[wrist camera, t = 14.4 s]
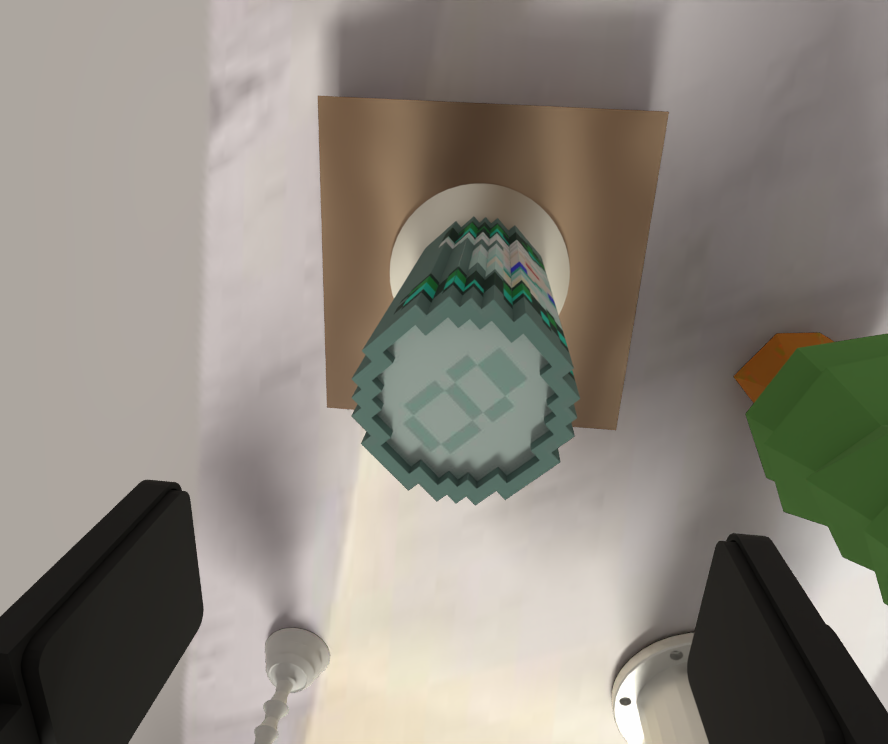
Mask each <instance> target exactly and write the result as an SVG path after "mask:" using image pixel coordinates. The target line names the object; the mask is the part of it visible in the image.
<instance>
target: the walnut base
mask: <svg viewBox="0 0 888 744" xmlns="http://www.w3.org/2000/svg"><path fill="white" fill-rule="evenodd" d="M668 114H669V112H663V111H641V110H619V109H597V108H575V107H553V106H531V105H509V104H487V103H465V102H443V101H421V100H399V99H377V98H355V97H333V96H318V119H319V152H320V186H321V220H322V253H323V287H324V321H325V355H326V388H327V408H340V409H353V410H355V408H356V406H357V403H356V402H355V401H354V400H353V399H352V396H353V394H354V392H355V390H356V388H357V387H358V385H357V384H356V383H355V382H354V381H353V380H352V377H353V375H354V374H355V372H356V370H357V369H358V367H359V365H360V364H361V362H362V360H363V358H364V357H365V354H364V353H363V352H362V350H363V348H364V346H365V345H366V343H367V342H368V340H369V338H370V337H371V335H372V333H373V332H374V330H375V329H376V327H377V325H378V324H379V322H380V321H381V319H382V317H383V316H384V314H385V312H386V311H387V309H388V308H389V306H390V304H391V303H392V301H393V300H394V298H395V296H396V295H397V293H398V291H399V290H400V288H401V287H402V285H403V283H404V282H405V280H406V278H407V277H408V275H409V274H410V272H411V270H412V269H413V267H414V266H415V264H416V262H417V261H418V259H419V257H420V256H421V254H422V253H423V251H424V249H425V248H426V247H427V246H428V245H429V244H430V243H432V242H433V241H434V240H435V239H436V238H437V237H438V236H439V235H441V234H442V233H443V232H444V231H445V230H446V229H447V228H448V227H450V226H451V225H452V224H453V223H454V222H455V221H456V222H457V223H458V224H459V225H460V226H461V227H462V226H463V225H464V224H466V223H467V222H468V221H469V220H470V219H471V218H472V217H473V216H474V217H475V218H476V219H477V220H478V221H479V222H481V221H482V220H483V219H484V218H485V217H486V218H487V219H488V220H489V221H490V222H491V223H492V222H493V221H495V220H496V219H497V218H498V219H499V220H500V221H501V222H502V223H503V225H504V226H505V227H506V228H507V229H508V231H509V230H510V229H511V228H512V227H513V226H514V225H515V226H516V227H517V228H518V229H519V230H520V232H521V233H522V234H523V235H524V236H525V238H526V239H527V240H528V241H529V242H530V244H531V245H532V246H533V247H534V248H535V250H536V251H537V252H538V253H539V254H540V256H541V257H542V261H543V264H544V267H545V271H546V274H547V278H548V281H549V285H550V288H551V291H552V295H553V298H554V302H555V305H556V309H557V312H558V315H559V319H560V322H561V326H562V329H563V333H564V336H565V339H566V343H567V346H568V350H569V353H570V357H571V360H572V363H573V367H574V369H573V370H572V371H573V375H574V378H575V382H576V385H577V389H578V392H579V396H580V400H578V401H577V402H575V403H574V406H575V410H576V414H577V419H575V420H574V421H572V422H571V423H572V427H582V428H595V429H608V430H616V427H617V421H618V415H619V409H620V403H621V397H622V391H623V385H624V379H625V373H626V367H627V361H628V355H629V349H630V343H631V337H632V331H633V325H634V319H635V313H636V307H637V301H638V295H639V289H640V283H641V277H642V271H643V265H644V259H645V253H646V247H647V241H648V235H649V229H650V223H651V217H652V211H653V205H654V199H655V193H656V187H657V181H658V175H659V169H660V163H661V156H662V150H663V144H664V138H665V132H666V126H667V120H668Z"/></svg>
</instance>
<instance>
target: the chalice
mask: <svg viewBox="0 0 888 744" xmlns="http://www.w3.org/2000/svg"><path fill="white" fill-rule="evenodd" d="M265 653H266V659H265V662H266V673H267V676H268V678H269V680H270V682H271V683H272V684H273V685H274V686H275V687H276V692H275V694H274V696H273V697H272V699H271V700H268V701H267V702H265V703H264V705H263V709H264V711H265V713H266V714H265V720H264V721H263V722H262V724H261V725H259V726H258V727H256V729H255V731H254V733H255V737H256V738H255V743H254V744H272V742H273V741H275V740H276V739H277V738H278V735H279V734H278V731H277V723H278V721H279V720H280V719H281V718H282V717H285V716H286V715H287V714H288V712H289V709H288V706H287V705H286V703H287V696H288V695H289V693H296V692H299V691H302V690H304V689H306V688H307V687H309V686H310V685H311V684H312V683H313V681H314V680H315V679H317V678H318V676H319V675H320V673H322V672H323V671H324V670H325V669H326V668H327V666H328V664H329V661H330V653H329V650H328V647H327V646H326V644H325V643H324V642H323V640H322V639H320V638H319V637H318V636H316V635H315V634H314V633H311V632H309V631H307V630H304V629H299V628H284V629H281V630H278V631H276V632H274V633H273V634H272V635H271V636H269V638H268V640H267V642H266V643H265Z"/></svg>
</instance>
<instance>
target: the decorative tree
mask: <svg viewBox="0 0 888 744" xmlns="http://www.w3.org/2000/svg"><path fill="white" fill-rule="evenodd" d="M733 377H734V378H735V379H736V381H737V382H738V383H739V385H740V386H741V387H742V389H743V390H744V391H745V392H746V394H747V395H748V396H749V398H750V399H751V400H752V402H753V403H754V404H753V405H752V406H751V407H750V409H749V410H748V411H747V412H746V414H745V415H746V418H747V421H748V424H749V427H750V430H751V433H752V436H753V439H754V442H755V445H756V448H757V451H758V454H759V457H760V460H761V463H762V466H763V469H764V472H765V475H766V478H768V479H770V480H772V481H775V484H776V487H777V491H778V494H779V498H780V501H781V505H782V508H783V512H786V513H789V514H792V515H795V516H798V517H801V518H804V519H807V520H810V521H813V522H816V523H819V524H822V525H825V526H828V528H829V530H830V532H831V534H832V536H833V538H834V540H835V542H836V544H837V546H838V548H839V551H840V553H841V555H842V557H844V558H846V559H848V560H850V561H852V562H855V563H857V564H859V565H861V566H864V567H866V568H868V569H870V570H872V571H875V574H876V577H877V581H878V584H879V588H880V591H881V595H882V599H883V602H884V603H885V604H887V605H888V334H882V335H875V336H869V337H863V338H857V339H850V340H844V341H838V342H834V341H832V340H831V339H829V338H828V337H826V336H824V335H823V334H821V333H777V334H776V335H775V336H774V337H773V338H772V339H771V340H770V341H769V342H768V343H767V344H766V345H765V346H764V347H763V348H762V349H761V350H760V351H759V352H758V353H757V354H755V355H754V356H753V357H752V358H751V359H750V360H749V361H748V362H747V363H746V364H745V365H744V366H743V367H742V368H741V369H740V370H739V371H738V372H737V373H736V374H735V375H734V376H733Z"/></svg>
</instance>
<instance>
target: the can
mask: <svg viewBox="0 0 888 744" xmlns="http://www.w3.org/2000/svg"><path fill="white" fill-rule="evenodd" d="M362 352H363V353H364V354H365V357H364V358H363V360H362V362H361V364H360V365H359V367H358V369H357V370H356V372H355V374H354V375H353V377H352V380H353V381H354V382H355V383H356V384H357V385H358V387H357V388H356V390H355V392H354V394H353V396H352V399H353V400H354V401H355V402H356V403H357V406H356V408H355V410H354V412H353V414H352V417H353V418H354V419H355V420H356V421H357V422H358V423H359V424H360V425H361V426H362V427H363V428H364V429H365V430H366V431H367V432H366V434H365V436H364V438H363V441H362V443H361V444H362V445H363V446H364V447H365V448H366V449H367V450H368V451H369V452H370V453H371V454H372V455H373V456H374V457H375V458H376V459H377V460H378V461H379V462H380V463H381V464H382V465H383V466H384V467H385V468H386V469H387V470H388V471H389V472H390V473H391V474H392V475H393V476H394V477H395V478H396V479H397V480H398V481H399V482H400V483H401V484H402V485H403V486H404V487H405V488H406V489H407V490H408V491H409V490H410V489H412V488H413V487H414V486H416V485H417V484H418V483H419V484H420V485H421V486H422V487H423V488H424V489H425V490H426V491H427V492H428V493H429V494H430V495H431V496H432V497H433V498H434V499H435V500H436V501H439V500H440V499H441V498H443V497H444V496H446V495H448V496H449V497H450V498H451V499H452V500H453V501H454V502H455V503H458V502H459V501H460V500H462V499H463V498H465V497H467V498H468V499H469V500H470V501H471V502H472V503H473V504H474V505H477V504H478V503H480V502H481V501H482V500H484V499H485V498H487V497H488V496H490V495H491V494H493V493H494V492H495V491H497V492H498V493H499V494H500V495H501V496H502V497H503V498H504V499H505V500H506V499H508V498H509V497H510V496H512V495H513V494H515V493H516V492H518V491H519V490H521V489H522V488H524V487H525V486H526V485H528V484H529V483H531V482H532V481H534V480H535V479H537V478H538V477H540V476H541V475H543V474H544V473H545V472H547V471H548V470H550V469H551V468H553V467H554V466H556V465H557V464H559V463H560V457H559V451H558V448H559V447H560V446H561V445H563V444H564V443H566V442H567V441H569V440H570V439H572V438H573V437H574V431H573V427H572V423H571V422H572V421H574V420H575V419H577V414H576V410H575V406H574V403H575V402H577V401H578V400H580V396H579V392H578V389H577V385H576V382H575V378H574V375H573V371H572V370H573V369H574V367H573V363H572V360H571V357H570V353H569V350H568V346H567V343H566V339H565V336H564V333H563V329H562V326H561V322H560V319H559V315H558V312H557V309H556V305H555V302H554V298H553V295H552V291H551V288H550V285H549V281H548V278H547V274H546V271H545V267H544V264H543V261H542V257H541V256H540V254H539V253H538V252H537V251H536V250H535V248H534V247H533V246H532V245H531V244H530V242H529V241H528V240H527V239H526V238H525V236H524V235H523V234H522V233H521V232H520V230H519V229H518V228H517V227H516V226H515V225H514V226H513V227H512V228H511V229H510V230H509V231H508V229H507V228H506V227H505V226H504V225H503V223H502V222H501V221H500V220H499V219H498V218H497V219H496V220H495V221H493V222H492V223H491V222H490V221H489V220H488V219H487V218H486V217H485V218H484V219H483V220H482V221H481V222H479V221H478V220H477V219H476V218H475V217H474V216H473V217H472V218H471V219H470V220H469V221H468V222H467V223H466V224H464V225H463V226H462V227H461V226H460V225H459V224H458V223H457V222H456V221H455V222H454V223H453V224H452V225H451V226H450V227H448V228H447V229H446V230H445V231H444V232H443V233H442V234H441V235H439V236H438V237H437V238H436V239H435V240H434V241H433V242H432V243H430V244H429V245H428V246H427V247H426V248H425V249H424V251H423V253H422V254H421V256H420V257H419V259H418V261H417V262H416V264H415V266H414V267H413V269H412V270H411V272H410V274H409V275H408V277H407V278H406V280H405V282H404V283H403V285H402V287H401V288H400V290H399V291H398V293H397V295H396V296H395V298H394V300H393V301H392V303H391V304H390V306H389V308H388V309H387V311H386V312H385V314H384V316H383V317H382V319H381V321H380V322H379V324H378V325H377V327H376V329H375V330H374V332H373V333H372V335H371V337H370V338H369V340H368V342H367V343H366V345H365V346H364V348H363V350H362Z"/></svg>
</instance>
